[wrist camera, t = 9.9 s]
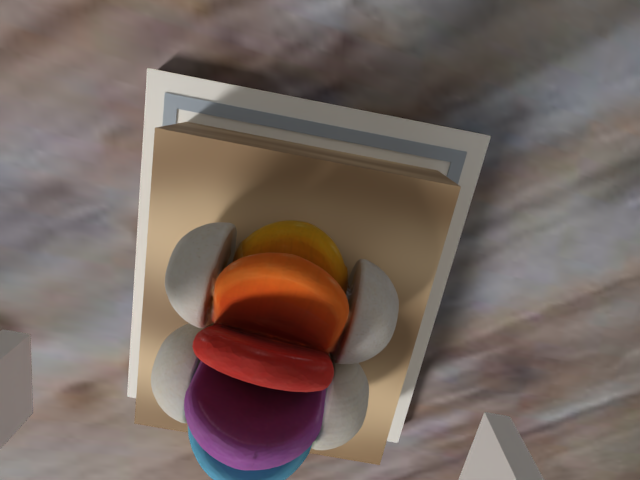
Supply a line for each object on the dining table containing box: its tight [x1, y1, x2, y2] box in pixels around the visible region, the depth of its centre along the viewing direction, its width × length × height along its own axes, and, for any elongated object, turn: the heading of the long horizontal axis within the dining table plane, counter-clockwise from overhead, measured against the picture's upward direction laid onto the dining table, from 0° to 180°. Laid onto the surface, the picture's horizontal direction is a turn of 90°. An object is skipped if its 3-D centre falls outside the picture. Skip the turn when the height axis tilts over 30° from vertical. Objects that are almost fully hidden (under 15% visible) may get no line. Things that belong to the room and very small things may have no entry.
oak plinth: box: [134, 122, 461, 465], centre depth 21 cm, size 14×12×4 cm
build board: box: [127, 68, 491, 443], centre depth 24 cm, size 18×16×1 cm
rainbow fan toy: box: [151, 220, 399, 480], centre depth 16 cm, size 8×10×7 cm
